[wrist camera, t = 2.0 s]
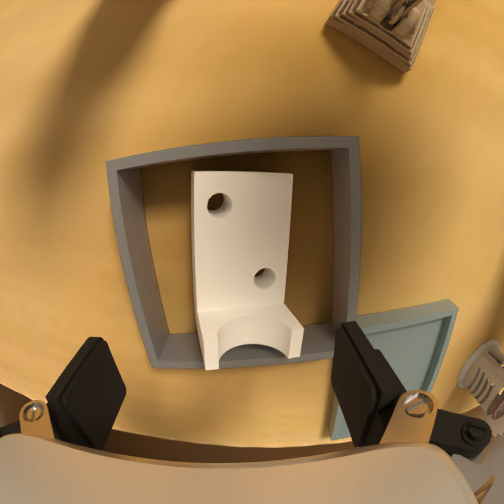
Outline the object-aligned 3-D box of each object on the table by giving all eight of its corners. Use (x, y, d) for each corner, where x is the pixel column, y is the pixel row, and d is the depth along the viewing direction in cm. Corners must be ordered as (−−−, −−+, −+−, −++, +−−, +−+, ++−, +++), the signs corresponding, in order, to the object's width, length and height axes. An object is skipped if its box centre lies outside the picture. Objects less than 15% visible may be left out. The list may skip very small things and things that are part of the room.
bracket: (268, 310, 27) (299, 356, 20) (194, 317, 25) (205, 370, 18) (276, 172, 23) (319, 177, 16) (191, 170, 21) (199, 173, 14)
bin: (338, 141, 21) (358, 136, 17) (338, 327, 27) (351, 354, 22) (130, 160, 22) (105, 161, 17) (164, 340, 27) (152, 367, 23)
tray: (448, 299, 26) (458, 307, 24) (413, 407, 32) (419, 417, 30) (342, 318, 26) (349, 330, 24) (328, 428, 32) (331, 440, 30)
